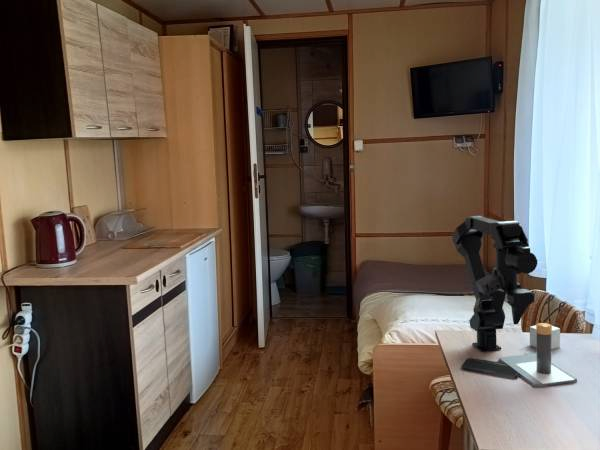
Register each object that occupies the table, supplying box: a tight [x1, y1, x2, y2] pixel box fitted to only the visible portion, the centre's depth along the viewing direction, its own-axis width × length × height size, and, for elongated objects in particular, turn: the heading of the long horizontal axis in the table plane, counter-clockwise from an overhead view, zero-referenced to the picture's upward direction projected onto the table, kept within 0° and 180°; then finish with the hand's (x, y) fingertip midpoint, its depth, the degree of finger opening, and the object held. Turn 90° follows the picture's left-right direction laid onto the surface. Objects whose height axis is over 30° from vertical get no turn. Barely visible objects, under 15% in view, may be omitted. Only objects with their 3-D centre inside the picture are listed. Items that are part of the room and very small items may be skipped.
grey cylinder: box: [536, 322, 553, 374], centre depth 142 cm, size 4×4×13 cm
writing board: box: [498, 352, 578, 388], centre depth 146 cm, size 18×12×1 cm, turn 8°
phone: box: [461, 357, 520, 380], centre depth 148 cm, size 8×1×15 cm
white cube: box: [529, 325, 561, 350], centre depth 162 cm, size 6×6×6 cm
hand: (506, 319), depth 150 cm, fingers open, 9 cm apart
